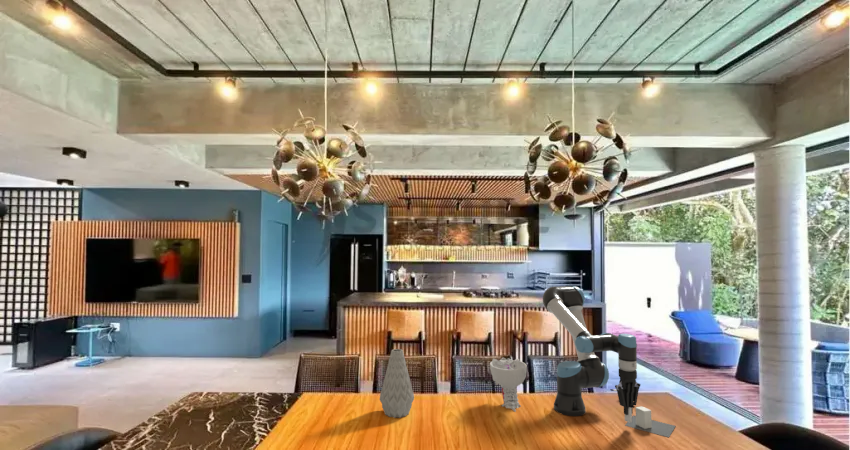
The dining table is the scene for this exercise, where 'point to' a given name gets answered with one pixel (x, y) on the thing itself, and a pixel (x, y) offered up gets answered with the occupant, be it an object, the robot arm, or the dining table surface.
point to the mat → (654, 427)
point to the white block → (643, 417)
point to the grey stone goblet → (509, 379)
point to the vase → (396, 387)
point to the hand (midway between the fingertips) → (628, 421)
